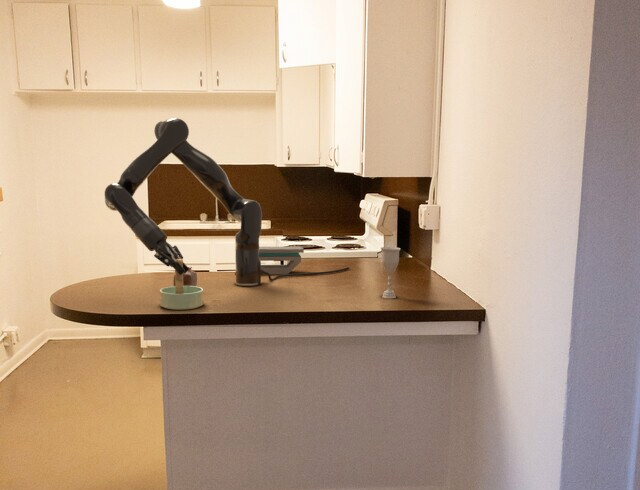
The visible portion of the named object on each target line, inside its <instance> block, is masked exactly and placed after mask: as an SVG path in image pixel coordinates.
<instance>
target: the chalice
mask: <svg viewBox="0 0 640 490" xmlns="http://www.w3.org/2000/svg"><path fill="white" fill-rule="evenodd" d="M380 250H381V264H382V267H383V269H384V272H385V273H386V274H387V275H388V276H387V283H386V285H387V288H386V289H385V290H384V291H383V294H382V296H381V298H384V299H396V294H395V291H394V290H392V279H393V278H392V274H394V273H395V271H396V269H397V267H398V265H399V262H400V251H401V248H400V247H395V246H383V247H380Z"/></svg>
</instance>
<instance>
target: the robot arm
mask: <svg viewBox="0 0 640 490" xmlns="http://www.w3.org/2000/svg"><path fill="white" fill-rule="evenodd" d="M189 135H190V129H189V126H188V123H186V121H184V120H183V119H182V118H176V117H175V118H174V117H172V118H168V119H167V118H166V119H163V120H160V121H158V122H157V123H156V124H155V126H154V136H155V139H156V141H155V142H154V143H153V144H152V145H150V147H149V148H146V150H144V151H143V152H142V153H141V154H139V155H138V156H137V157H136V158H135V159H134V160H132V162H131V163H130V164H129V165H128V166H127V167H126V168H125V169H124V170H123V172H122V173H121V175H120V178H119V180H118V181H117V183H116V182H115V183H110V184H108V185H107V186H106V187H105V190H104V203H105V206H106V208H108V209H109V210H111V211H113V212H118V213H119V215H120V216H121V219H122V221H123V222H124V223H125V224H126V226H127V227H128V228H129V229H130V230H131V231H132V232H133V234H134V235H135V237H136V238H137V239H138V240H139V241H140V242H141V243H142V244H143V246H144V247H146V249H147V250H148V251H149V252H155V253H154V255H153V257H154V258H156V259H157V260H158V261H159V262H161V263H162V264H164V266H166V267H168V268H169V267H171V268H173V269H174V271H175V270H176V271H177V272H178V273H179V274H180V275H182V274H183V273H186V272H187V271H188V270H189V268H190V267H189V266H187V264H186V263H185V262H184V261H183V267H182V266H181V265H180V264H179V263H177V261H176V259H183V260H184V256H183V255H182V252H181V251H180V250H179V247H178V246H177V245H173V246H172V244H170V243H169V242H168V241H167V239H168V235H167V234H166V233H165V231H163V230H162V229H161V227H160V226H159V225H158V224H157V223H156V222H155V221H154V220H152V219H151V218H150V217H149V215H147V214H146V213H145V211H144V209H141V207H140V206H139V205H138V204H137V202H136V200H135V199H134V198H133V197H134V195H135V193H136V192H137V190H138V189H139V188H140V187H141V186H142V185H143V183H145V181H146V180H147V179H148V178H149V176H150V175H151V174H152V173H153V172H154V171H155V169H157V168H158V166H159V165H160V164H161V163H162V162H163V161H165V160H166V158H168V157H169V156H170V155H171V154H172V155H173V156H174V157H176V158H177V159H178V160H179V162H181V164H183V166H184V167H185V168H186V169H187V170H188V171H189V172H190V173H191V174H192V175H193V176H194V177H195V178H196V179H197V180H198V182H200V183H201V184H202V186H203V187H205V188H206V189H207V190H208V191H209V192H210V193H211V194H212V196H213V197H214V198H216V200H218V201H219V202H220V203H221V204H222V206H223V207H224V208H225V209H226V211H227V212H228V214H229V215H231V217H232V219H234V221H236V222H237V223H240V230H239V231H238V232H236V234H235V235H234V238H235V239H234V240H235V243H234V245H235V246H234V248H235V249H234V250H235V251H234V253H235V272H234V276H235V285H237V286H238V287H239V286H240V287H254V286H255V287H256V286H262V285H261V284H262V276H264V275H267V277H268V280H269V281H270V282H273V281H275V280H277V279H280V278H284V277H285V278H286V277H297V276H299V277H300V276H313V275H314V276H315V275H326V274H334V273H339V272H343V271H346V270H347V271H348V270H349V269H350V266H347V267H344V268H340V269H334V270H326V271H315V272H301V273H300V272H299V273H289V274H277V275H276V276H274V277H273V278H272V276H271V274H269V273H267V272H265V271H263V269H261V265H262V261H260V260H259V247H260V236H261V234H262V222H263V212H262V207H261V204H260V203H259V202H258V201H256V200H252V199H246V198H244V197H243V196H241V194H239V193H238V192H237V191H236V190H235V189H234V188H233V186H232V184H231V183H230V180H229V178H228V175H227V173H226V171H225V170H224V169H223V168H222V167H221V166H220V165H219V164H218V163H217V161H216V160H214V158H212V157H211V156H209V155H207V154H206V153H204V152H203V151H201V150H199V149H198V148H196V147H194V146H193V145H192V144H191V143H189V142H188V138H189ZM188 267H189V268H188ZM263 273H264V274H263Z"/></svg>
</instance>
